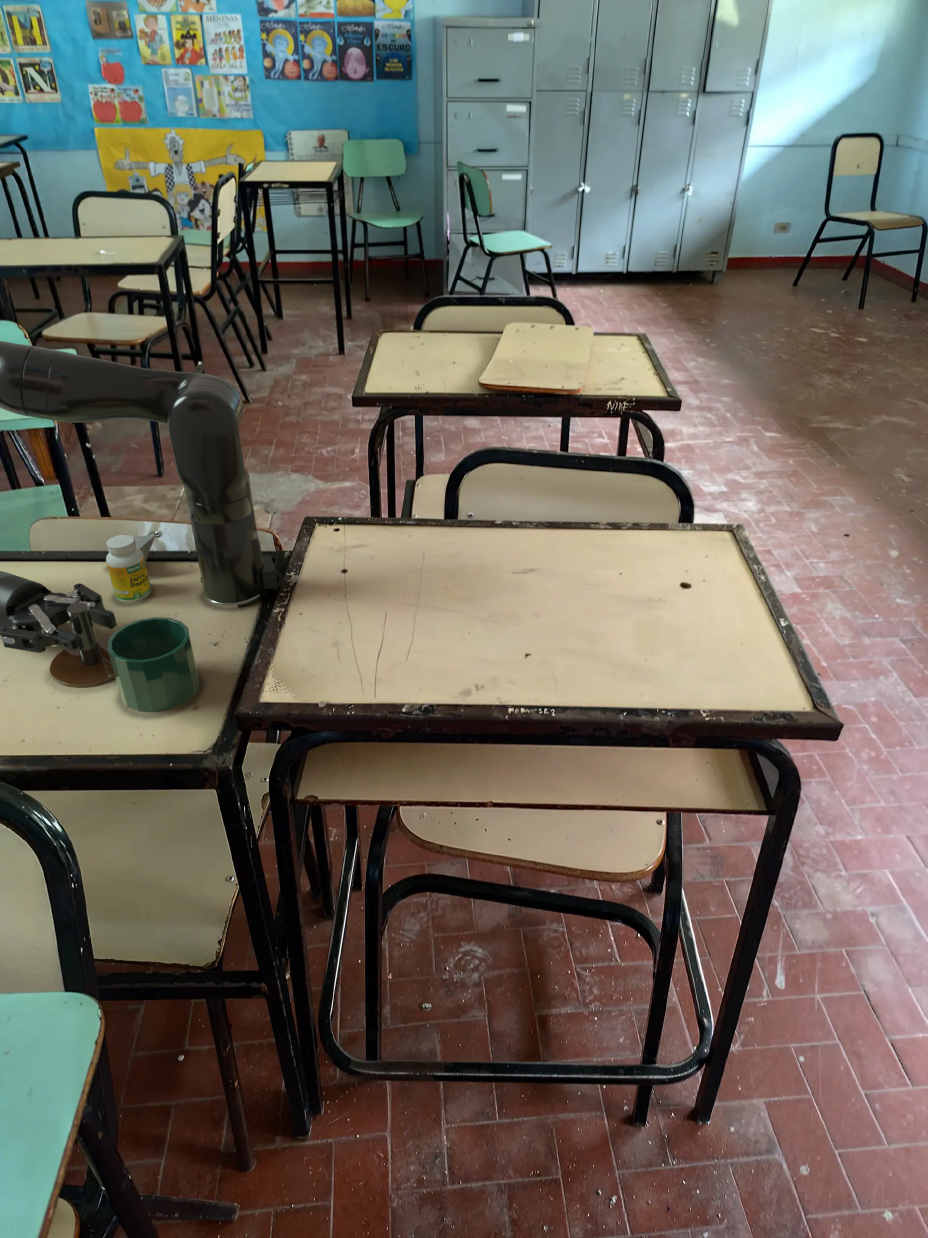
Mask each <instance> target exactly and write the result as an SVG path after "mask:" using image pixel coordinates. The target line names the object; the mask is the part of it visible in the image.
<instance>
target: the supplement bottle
mask: <svg viewBox="0 0 928 1238" xmlns="http://www.w3.org/2000/svg"><path fill="white" fill-rule="evenodd" d="M134 537H135V536H132V535H130V534H119V535H116V536H112V537H110V538H109V539H108V540H107V541H106V548H107V551H108V553H107V555H106V556H105V557H106V558H105V563H106V567H107V570H108V575H109V578H110V581H111V584H112V589H113V592H114V595H115V598H116V599H117V600H119V601H121V602H135V601H139V600H143V599H145V598H146V597H148V596H149V595H150V594H151V592H152V587H151V582H150V578H149V574H148V570H147V565H146V562H145V560H144V556H143V553H142V551H141V550H140V549H138V548H136V543H135V539H134Z"/></svg>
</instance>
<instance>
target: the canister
mask: <svg viewBox="0 0 928 1238" xmlns="http://www.w3.org/2000/svg"><path fill="white" fill-rule="evenodd" d="M109 638H110V639H109V641H108V653H109V656H110V660H111V664H112V667H113V671H114V674H115V682H116V686H117V689H118V693H119V696H120V700H121V701H122V702H123V704H124V705H125V706H126V707H127V708H129V709H132V710H134V711H136V712H140V713H141V712H142V713H159V712H163V711H169V710H172V709H174V708H176V707H178V706H181V705H183V704H185V703H186V702H188V700H191V698H193V696H195V694H196V692H197V691H198V689H199V687H200V679H199V678H200V677H199V673H198V668H197V662H196V658H195V654H194V648H193V645H192V644H193V643H192V639H191V634H190V629H189V627H188V626H187V625H186V624H185V623H183V622H182V621H181V620H178V619H175V618H172V617H162V616H161V617H160V616H154V617H147V618H141V619H138V620H136V621H133V622H129V623H127V624H125V625H123V626H122V627H120V628H119V629H118V630H116V631H115V632H113V633H112V635H111V636H110V637H109Z"/></svg>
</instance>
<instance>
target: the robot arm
mask: <svg viewBox="0 0 928 1238" xmlns="http://www.w3.org/2000/svg"><path fill="white" fill-rule="evenodd" d="M0 409H1V410H4V411H7V412H10V413H12V414H15V415H20V416H23V417H31V418H35V419H41V420H47V421H54V422H59V423H60V422H62V423H71V424H73V423H77V424H78V423H80V424H81V423H95V422H106V421H115V420H143V421H144V420H145V421H151V422H155V423H161V424H166V425H167V431H168V436H169V441H170V445H171V451H172V455H173V459H174V463H175V468H176V472H177V476H178V479H179V481H180V484H182V486H183V488H184V494H185V498H186V499H185V500H186V504H187V509H188V514H189V520H190V525H191V530H192V535H193V540H194V546H195V547H194V548H195V551H196V557H197V563H198V568H199V574H200V578H199V579H200V583H201V587H202V589H203V590H202V593H203V597H204V598H205V599H206V601H208V602H210V603H211V604H213V605H217V606H223V607H224V606H225V607H229V606H231V607H233V606H237V607H243V606H247V605H250V604H252V603H255V602H256V601H258V600H259V599H261V598H267V597H268V590H270V589H272V590H274V591H277V590H278V589H279V588H280V586H281V585H282V583H281V581H282V582H283V580H284V579H283V574H282V573H281V572H280V571H279V570H277V569H276V568H275V565H274V562H273V559H272V556H271V555H272V554H266V555H262V548H261V542H260V539H259V534H258V529H257V528H258V527H257V522H256V515H255V507H254V500H253V493H252V487H251V486H252V485H251V479H250V473H249V471H248V469H247V468H246V467H245V463H244V456H243V450H242V443H241V437H240V427H241V424H242V420H243V416H244V402H243V398H242V396H241V394H240V393H239V391H238V390H237V388H236V387H235V386H234V385H233V384H231V383H230V382H229V381H227V380H225V379H224V378H222V377H219V376H216V375H213V374H207V373H200V372H188V371H173V370H162V369H154V368H153V369H152V368H145V367H139V366H133V365H129V364H124V363H121V362H120V363H119V362H115V361H111V360H107V359H106V360H105V359H101V358H95V357H89V356H85V355H80V354H75V353H71V352H66V351H62V350H59V349H58V350H56V349H53V348H47V347H41V346H35V345H29V344H22V343H16V342H10V341H4V340H3V341H2V340H0ZM282 579H283V580H282ZM73 589H74V590H72V591H70V592H67V593H64V592H55V591H54V592H53V591H51V590H50V589H49V588H48V587H46V586H45V585H44V584H42V583H40V582H37V581H34V580H32V579H28V578H25V577H22V576H20V575H15V574H13V573H10V572H7V571H3V570H0V638H1V641H2V644H3V647H4V648H7V649H13V650H18V651H19V650H20V651H26V652H31V653H32V652H33V653H37V654H41V653H44V652H45V651H47V648H48V647H52V648H57V647H59V648H62V649H67V650H76V651H80V650H82V649H83V648H84V645H83V642H82V639H81V637H80V636H79V635H78V634H75V633H73V631H69V630H66V629H63V628H61V627H60V626H62V625H64V624H70V620H69V617H68V614H67V608H68V607H69V606H70V605H72V604H75V603H85V604H87V606H88V609H89V612H90V616H91V619H92V623H93V624H96V625H98V626H101V627H104V628H106V629H109V630H113V629H115V628H116V627H117V626H118V624H117V620H116V616H115V613H114V612H113V611H112V610H109V609H106V608H105V605H104V601H103V597H102V595H101V594H99V593H98V592H96V591H94V589H92V588H90V587H88V586H87V585H84V584H83V583H80V582H79V583H75V584H74V585H73Z"/></svg>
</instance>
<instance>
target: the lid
mask: <svg viewBox="0 0 928 1238" xmlns="http://www.w3.org/2000/svg"><path fill="white" fill-rule="evenodd" d="M67 614H68V617H69V620H70V623H69V625H70V627H71V630H72V633H75V634H78V635H79V636H80V637H81V639H82V642H83V645H84V648H83V649H82V650H80V651H76V650H67V649H65V648H63V649H62V650H61V651H60V652H58V653H57V654H56V655H55V656H54V658H53V659H52V660H51V662H50V665H49V673H50V676H51V678H52V679H53V680H54V681H55V683H57V684H60V685H62V686H65V687H69V688H88V687H94V686H99V685H103V684H106V683H109V682H110V681H113V680H116V678H115V674H114V671H113V667H112V664H111V660H110V656H109V653H108V641H109V639H110V638H111V637H104V636H103V637H97V634H96V630H95V627H94V623H93V622H92V619H91V616H90V612H89V609H88V606H87V604H85V603H75V604H72V605H70V606H69V607H68V608H67Z"/></svg>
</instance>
